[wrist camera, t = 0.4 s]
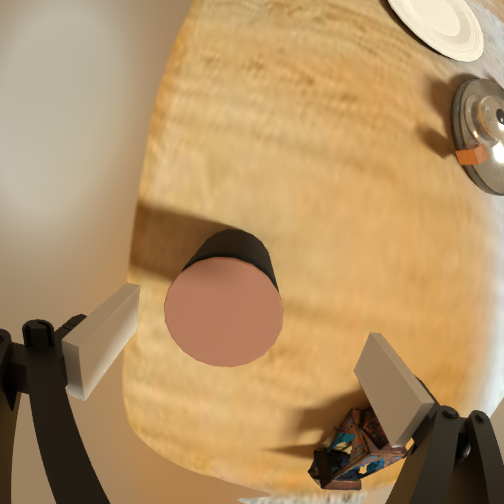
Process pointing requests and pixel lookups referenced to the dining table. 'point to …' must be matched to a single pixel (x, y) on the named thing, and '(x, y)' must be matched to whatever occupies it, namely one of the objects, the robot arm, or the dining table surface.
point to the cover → (485, 119)
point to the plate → (443, 26)
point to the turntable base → (458, 138)
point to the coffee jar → (226, 302)
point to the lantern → (355, 453)
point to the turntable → (481, 158)
